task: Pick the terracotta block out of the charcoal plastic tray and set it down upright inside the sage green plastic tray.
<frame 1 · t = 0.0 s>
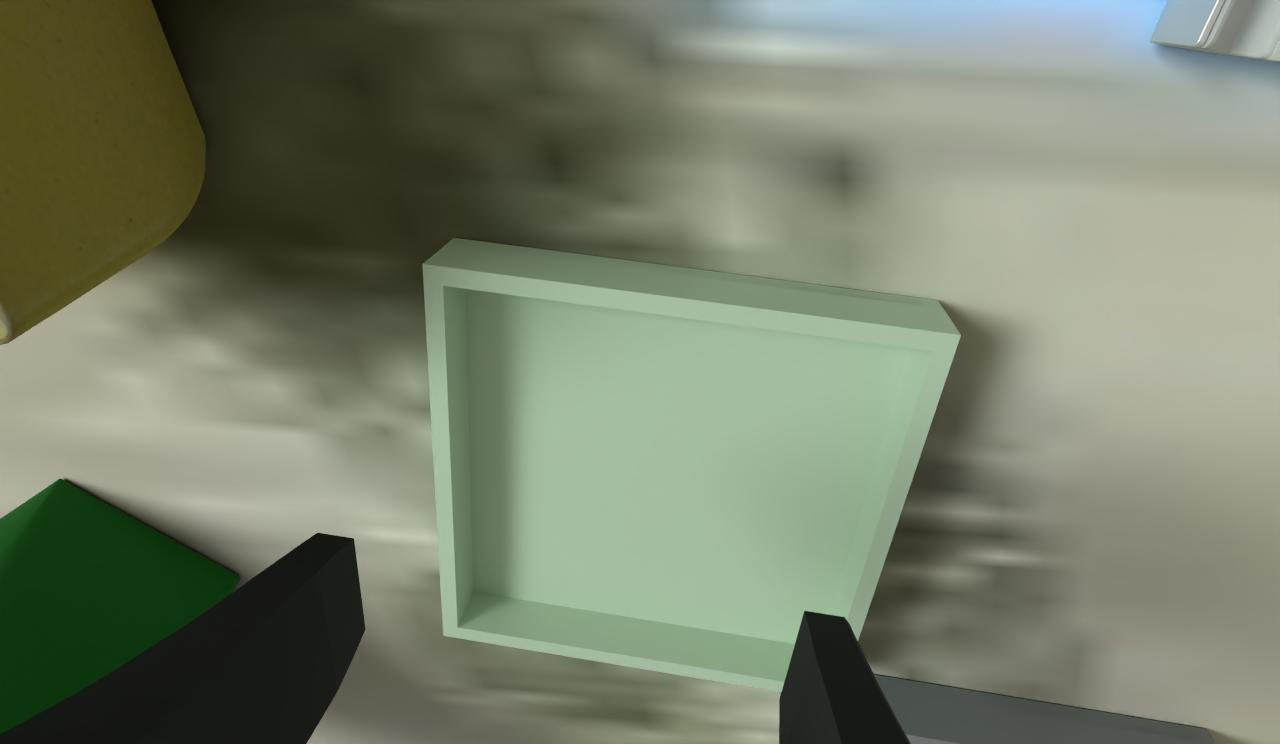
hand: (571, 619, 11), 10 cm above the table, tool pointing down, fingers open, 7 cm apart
flower pot: (100, 60, 19), on the table
milk carton: (133, 576, 28), on the table
green tray: (664, 466, 22), on the table
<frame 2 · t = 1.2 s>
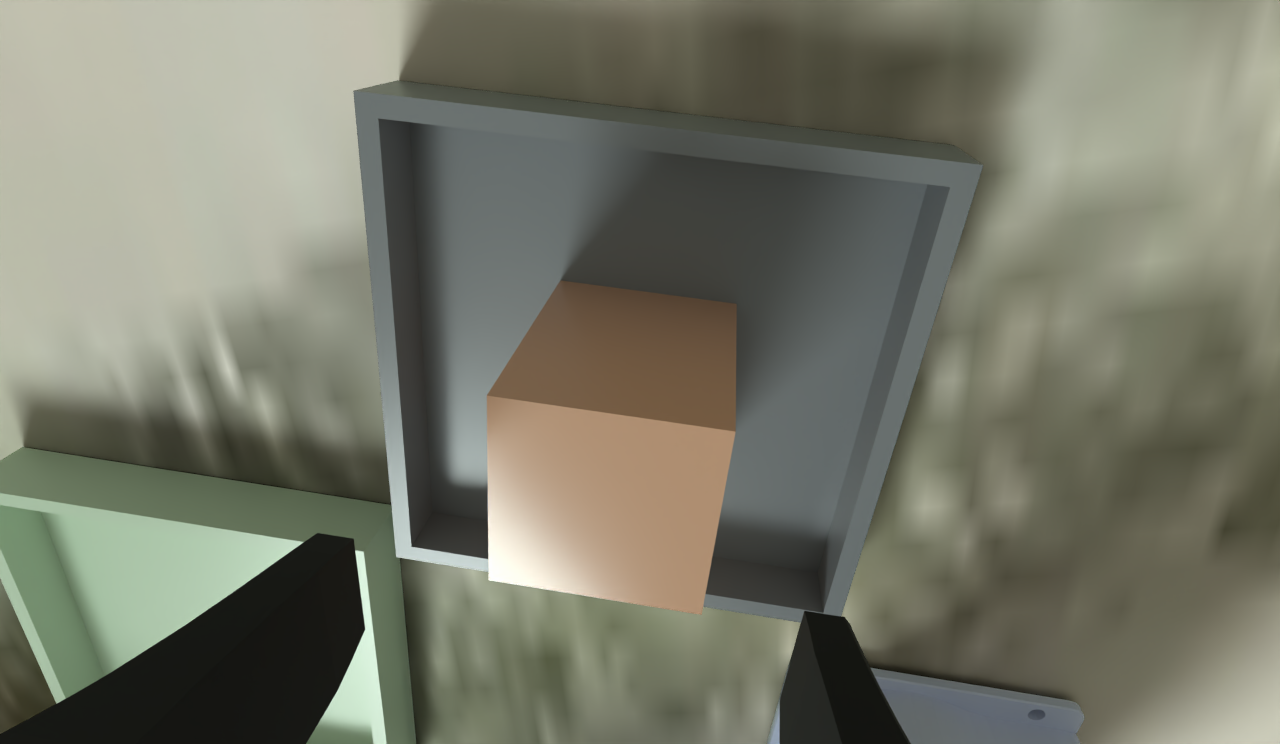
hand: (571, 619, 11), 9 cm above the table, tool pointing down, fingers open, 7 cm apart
charcoal tray: (642, 360, 20), on the table
terracotta block: (639, 370, 19), point 1 cm above the table, touching charcoal tray
green tray: (239, 616, 27), on the table
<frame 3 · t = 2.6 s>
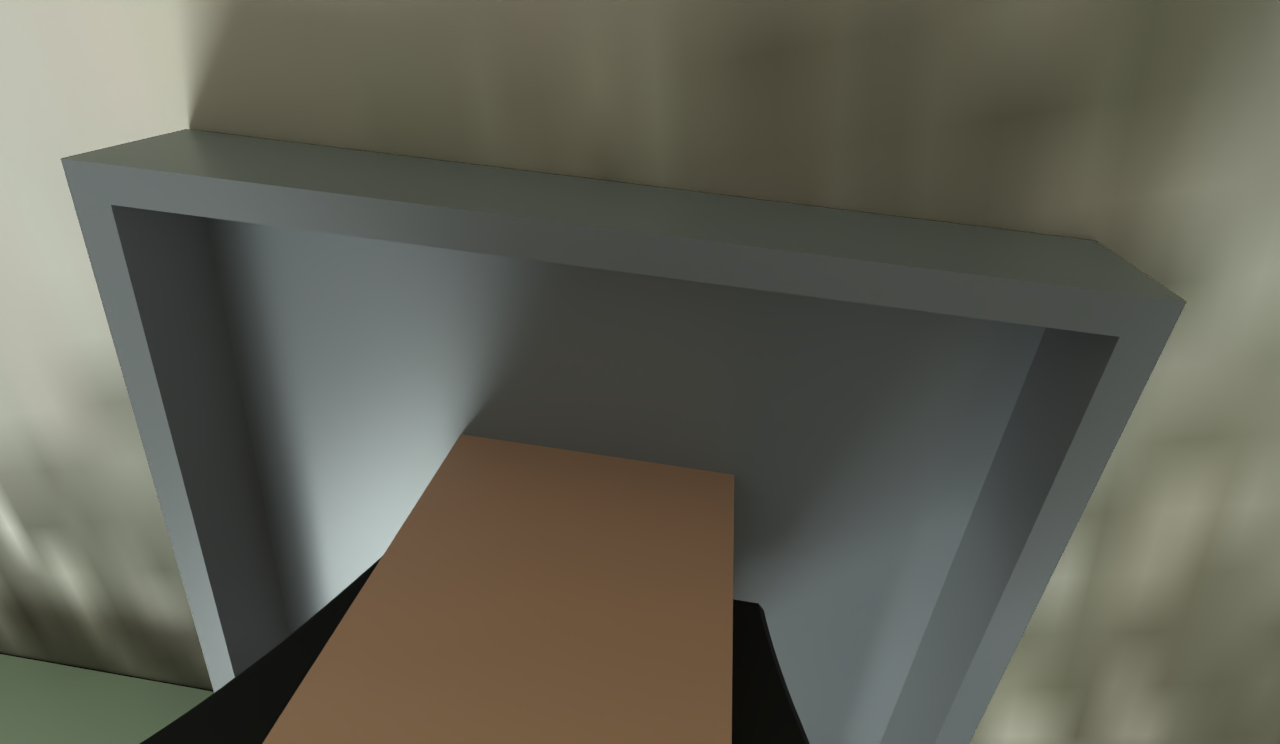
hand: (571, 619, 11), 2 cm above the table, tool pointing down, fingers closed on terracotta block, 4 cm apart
charcoal tray: (593, 536, 13), on the table
terracotta block: (587, 558, 13), point 1 cm above the table, touching charcoal tray, gripper
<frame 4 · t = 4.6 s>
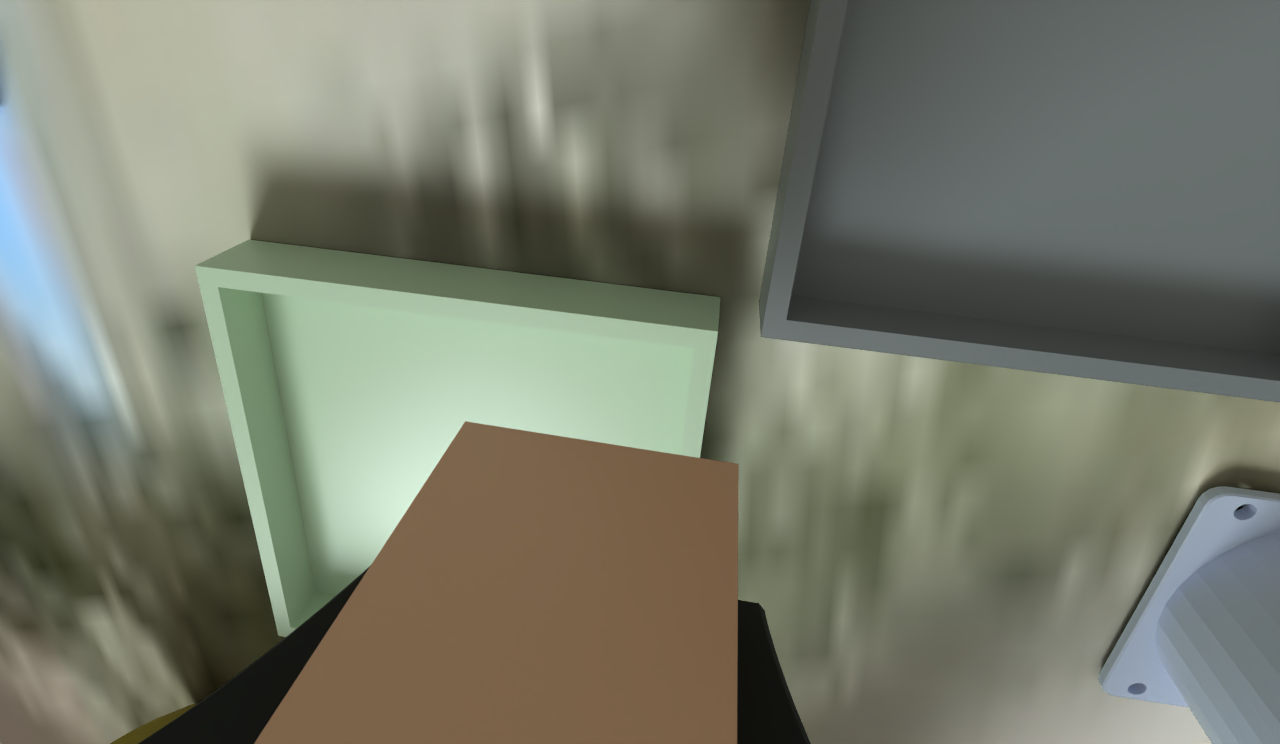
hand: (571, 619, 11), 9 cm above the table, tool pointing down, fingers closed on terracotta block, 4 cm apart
charcoal tray: (1117, 53, 15), on the table
flower pot: (268, 733, 31), on the table
terracotta block: (590, 547, 13), point 8 cm above the table, touching gripper
green tray: (484, 465, 22), on the table
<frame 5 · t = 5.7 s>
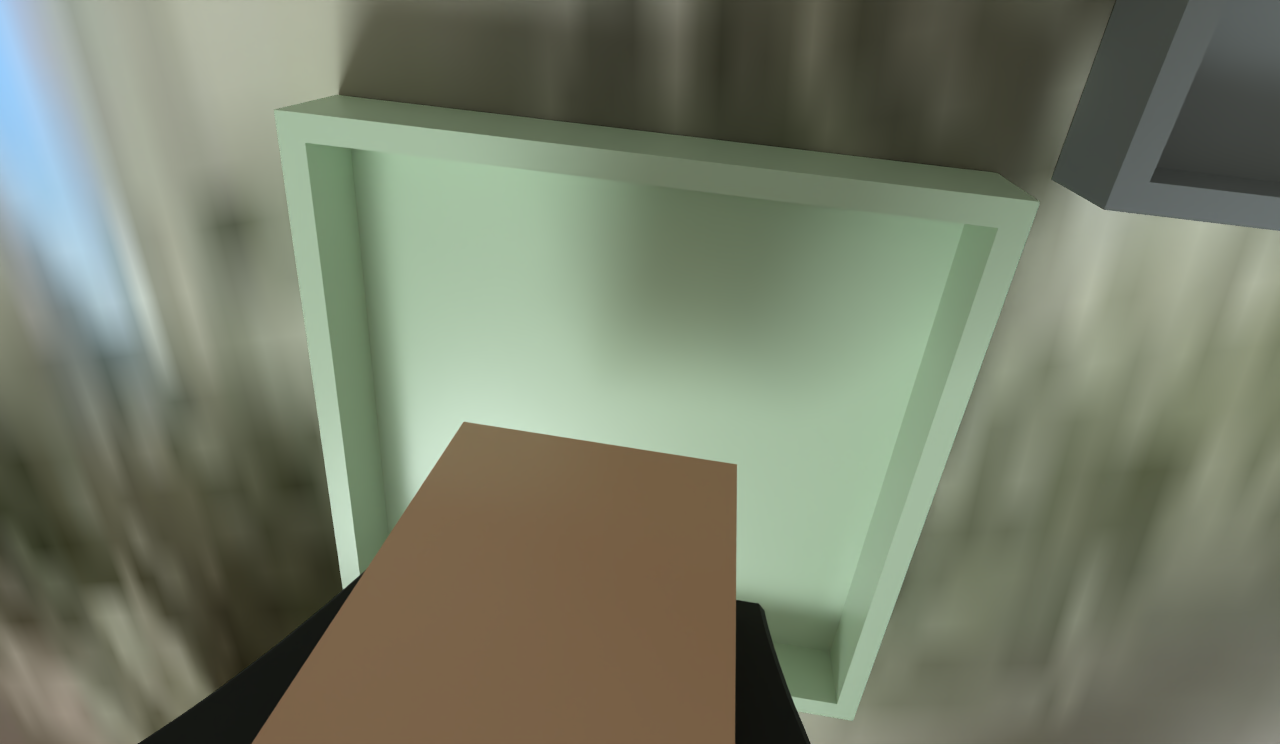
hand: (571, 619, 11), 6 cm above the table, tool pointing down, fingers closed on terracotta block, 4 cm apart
terracotta block: (589, 548, 13), point 5 cm above the table, touching gripper
green tray: (628, 415, 17), on the table
when the fingers open (3 cm above the table, at t = 6.7 s): terracotta block drops 1 cm, resting on green tray.
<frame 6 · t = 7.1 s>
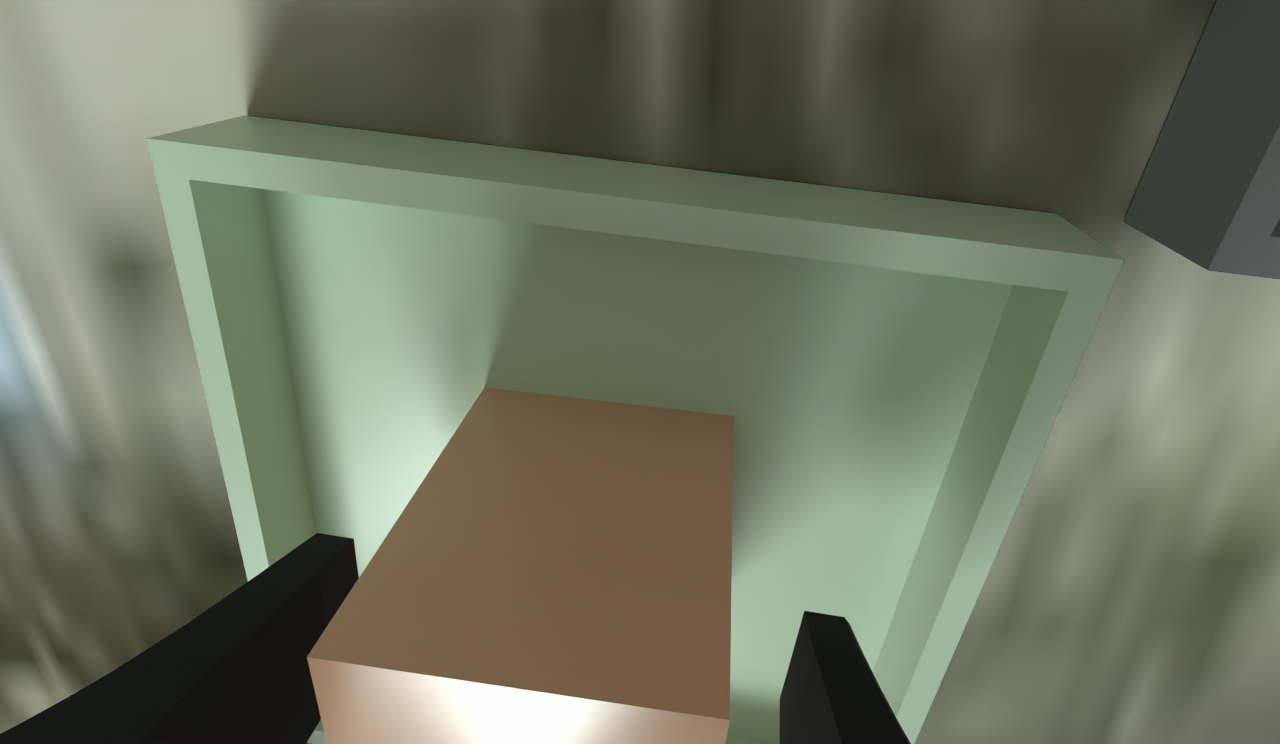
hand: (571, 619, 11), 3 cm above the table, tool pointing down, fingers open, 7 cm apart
terracotta block: (602, 501, 14), point 1 cm above the table, touching green tray
green tray: (606, 490, 14), on the table
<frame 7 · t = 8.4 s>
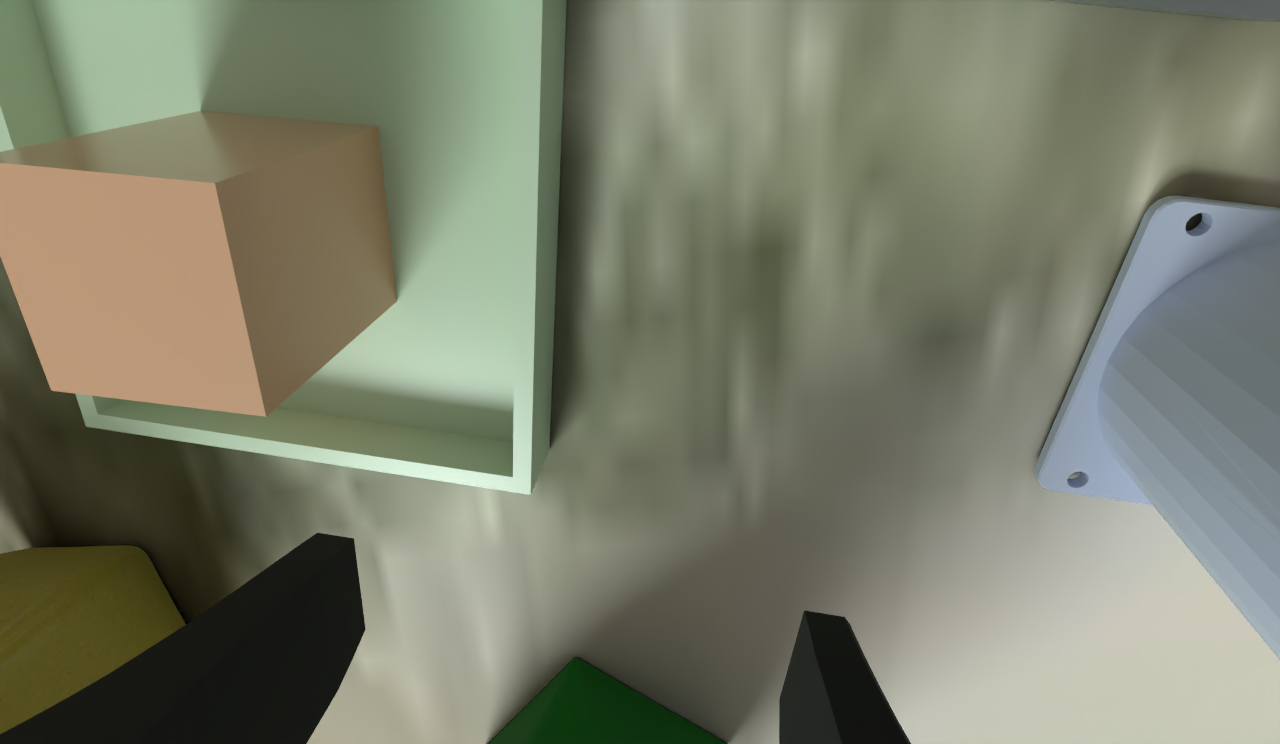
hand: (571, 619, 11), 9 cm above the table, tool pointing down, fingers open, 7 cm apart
flower pot: (120, 588, 27), on the table
terracotta block: (303, 210, 18), point 1 cm above the table, touching green tray
milk carton: (602, 740, 28), on the table
green tray: (316, 211, 19), on the table
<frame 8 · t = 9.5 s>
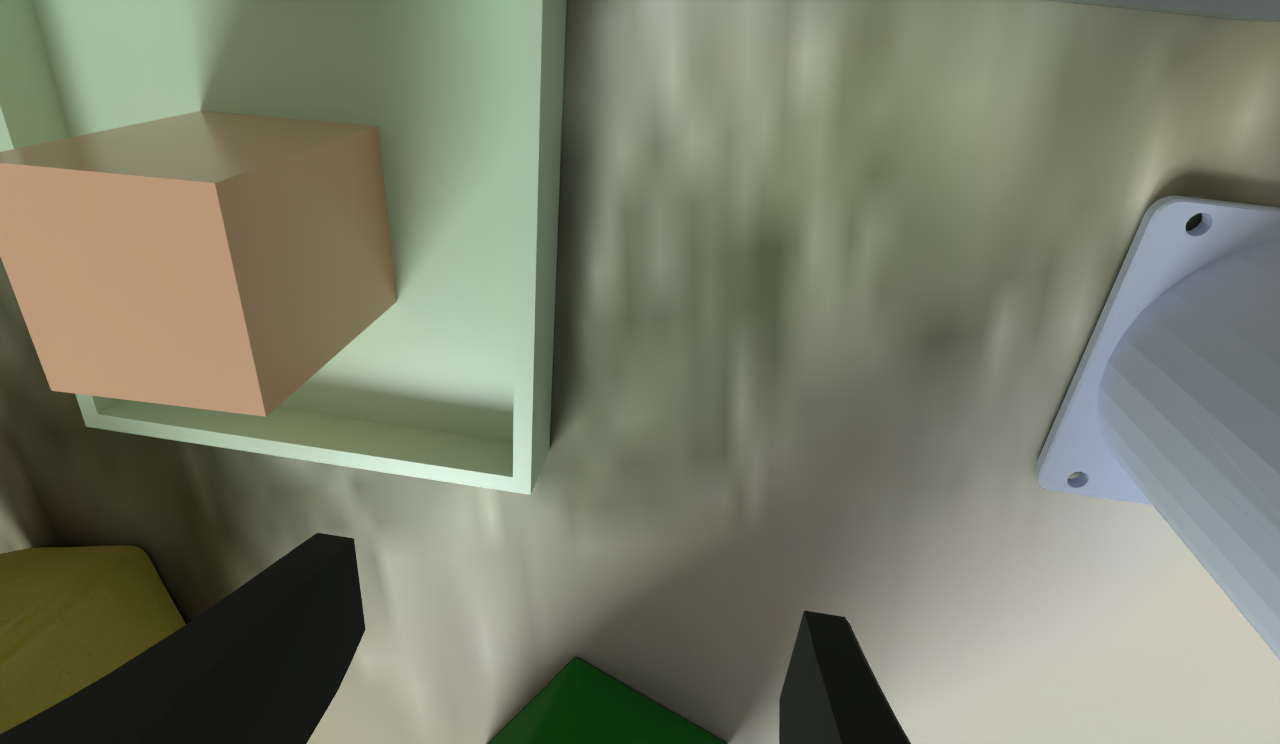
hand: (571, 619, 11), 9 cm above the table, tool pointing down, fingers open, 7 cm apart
flower pot: (120, 588, 27), on the table
terracotta block: (303, 210, 18), point 1 cm above the table, touching green tray
milk carton: (602, 740, 28), on the table
green tray: (316, 211, 19), on the table
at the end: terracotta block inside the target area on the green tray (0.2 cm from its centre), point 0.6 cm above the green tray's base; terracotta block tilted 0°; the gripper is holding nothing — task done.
